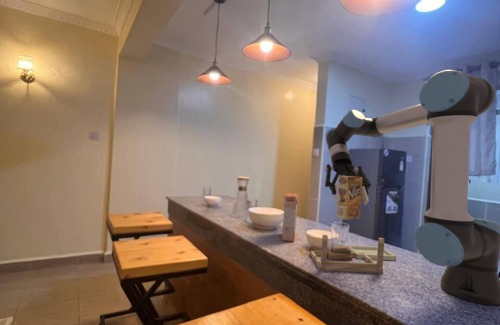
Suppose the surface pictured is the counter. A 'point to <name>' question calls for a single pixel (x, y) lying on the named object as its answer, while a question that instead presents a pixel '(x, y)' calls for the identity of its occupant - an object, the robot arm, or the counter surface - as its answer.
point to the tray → (370, 252)
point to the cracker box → (289, 217)
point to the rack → (346, 254)
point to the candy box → (349, 197)
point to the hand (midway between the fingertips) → (352, 201)
